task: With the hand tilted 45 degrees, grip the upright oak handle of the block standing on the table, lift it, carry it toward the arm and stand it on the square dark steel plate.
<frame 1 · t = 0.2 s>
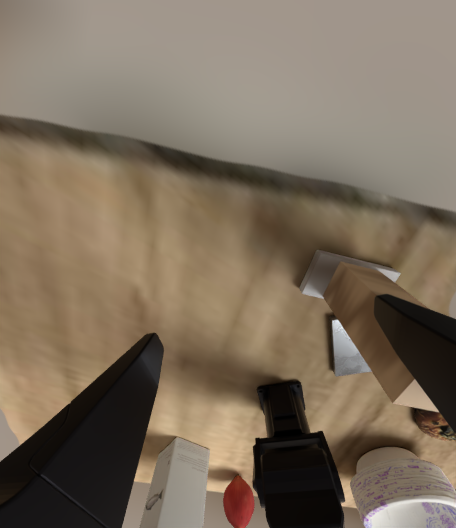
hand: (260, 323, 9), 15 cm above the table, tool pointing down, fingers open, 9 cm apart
steel plate: (371, 339, 29), on the table
supplement box: (184, 449, 41), on the table
bread roll: (447, 404, 34), on the table
red pointed oval piece: (238, 474, 45), on the table
paper bowls: (383, 458, 41), on the table
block: (344, 278, 25), on the table
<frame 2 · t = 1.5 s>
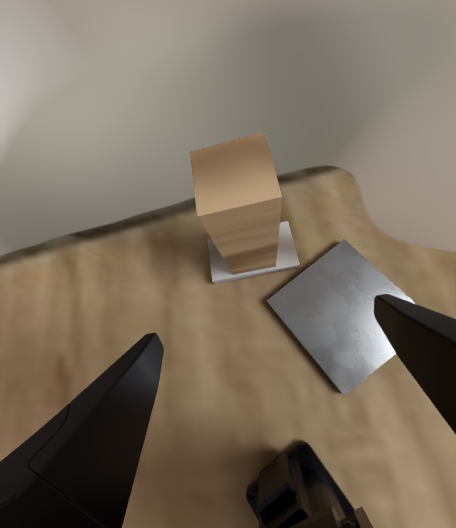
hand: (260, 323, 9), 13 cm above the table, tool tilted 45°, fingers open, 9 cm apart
steel plate: (341, 310, 21), on the table
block: (251, 254, 24), on the table
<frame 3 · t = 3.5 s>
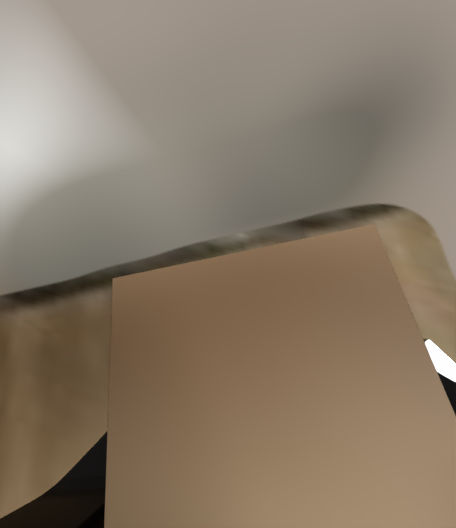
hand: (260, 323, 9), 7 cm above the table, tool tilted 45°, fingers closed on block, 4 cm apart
steel plate: (433, 476, 12), on the table
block: (268, 349, 15), on the table, touching gripper
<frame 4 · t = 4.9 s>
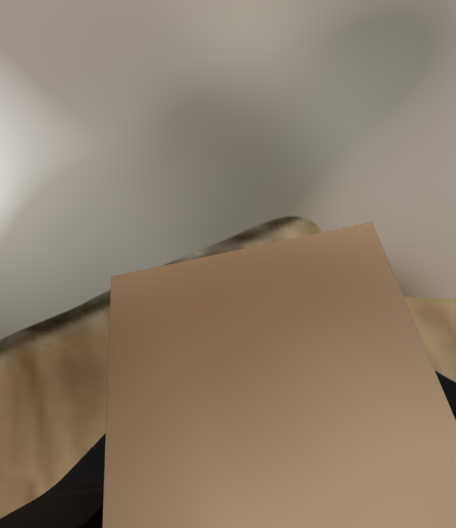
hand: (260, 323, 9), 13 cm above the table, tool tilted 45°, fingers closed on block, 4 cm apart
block: (268, 349, 15), point 6 cm above the table, touching gripper
when the fingers open (9 cm above the table, at t = 6.5 s): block drops 1 cm, resting on steel plate.
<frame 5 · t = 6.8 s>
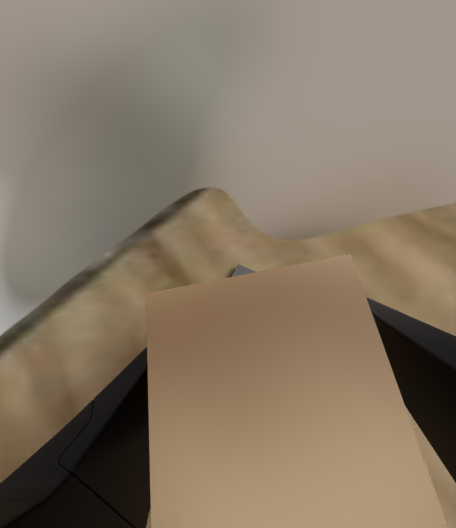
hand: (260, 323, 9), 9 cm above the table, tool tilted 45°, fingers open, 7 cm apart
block: (268, 348, 16), point 1 cm above the table, touching steel plate
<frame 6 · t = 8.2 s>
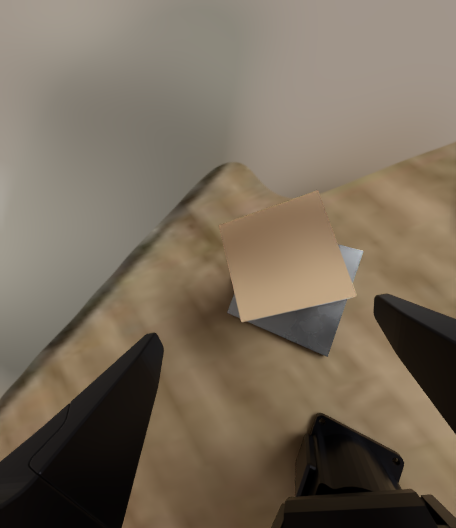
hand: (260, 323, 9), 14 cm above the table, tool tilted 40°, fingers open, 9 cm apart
steel plate: (291, 284, 22), on the table
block: (290, 283, 21), point 1 cm above the table, touching steel plate
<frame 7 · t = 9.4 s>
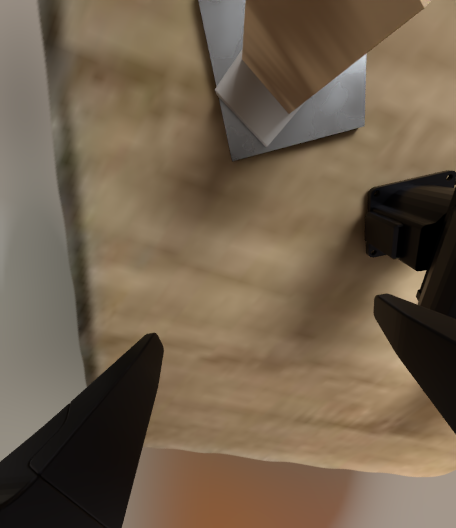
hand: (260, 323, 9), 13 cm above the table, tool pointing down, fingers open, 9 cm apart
steel plate: (285, 66, 15), on the table
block: (287, 61, 15), point 1 cm above the table, touching steel plate
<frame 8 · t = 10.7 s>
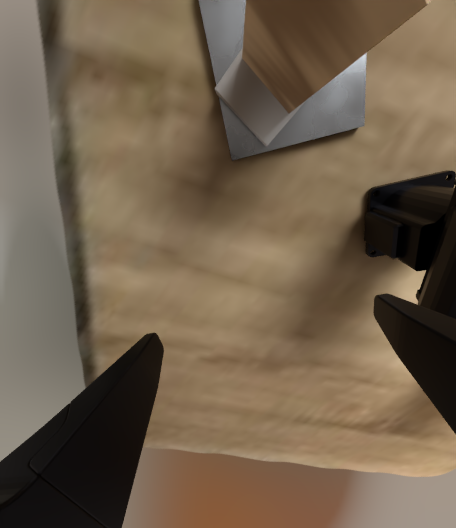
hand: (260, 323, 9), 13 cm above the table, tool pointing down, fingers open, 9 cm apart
steel plate: (285, 65, 15), on the table
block: (288, 61, 15), point 1 cm above the table, touching steel plate
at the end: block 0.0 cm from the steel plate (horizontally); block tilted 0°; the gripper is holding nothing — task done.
